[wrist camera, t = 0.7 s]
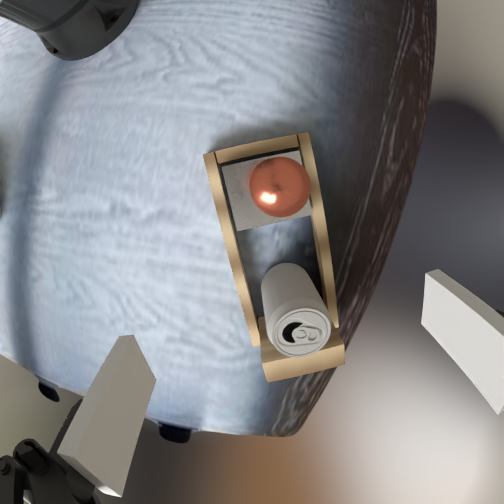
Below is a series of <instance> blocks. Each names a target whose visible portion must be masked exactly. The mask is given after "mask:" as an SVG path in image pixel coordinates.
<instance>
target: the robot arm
mask: <svg viewBox="0 0 504 504" xmlns="http://www.w3.org/2000/svg"><path fill="white" fill-rule="evenodd" d="M137 4H138V0H0V16H1V17H3V18H6V19H8V20H10V21H13V22H15V23H17V24H19V25H21V26H24V27H26V28H28V29H30V30H32V31H34V32H36V33H37V35H38V36H39V38H40V39H41V41H42V43H43V44H44V46H45V47H46V49H47V50H48V51H49V52H50V53H51V54H52V55H54V56H56V57H58V58H61V59H63V60H68V61H73V60H79V59H83V58H86V57H88V56H91V55H93V54H95V53H96V52H98V51H100V50H101V49H103V48H104V47H106V46H107V45H108V44H110V43H111V42H112V41H113V40H114V39H115V38H116V37H117V36H118V35H119V34H120V33H121V32H122V31H123V30H124V29H125V28H126V26H127V25H128V24H129V22H130V20H131V19H132V17H133V15H134V13H135V11H136V8H137ZM421 324H422V325H423V326H424V327H425V328H426V329H427V330H428V332H430V334H432V336H433V337H434V338H435V339H436V340H437V341H438V343H439V344H440V345H441V346H442V347H443V348H444V349H445V350H446V351H447V353H448V354H449V355H450V356H451V357H452V358H453V359H454V361H456V363H457V364H458V366H459V367H460V368H461V369H462V370H463V371H464V373H465V374H466V375H467V376H468V377H469V379H470V380H471V381H472V382H473V384H474V385H475V386H476V387H477V388H478V390H479V391H480V392H481V394H482V395H483V396H484V397H485V399H486V400H487V401H488V402H489V404H490V405H491V406H492V408H493V409H494V410H495V412H496V413H497V414H500V413H501V412H502V411H504V312H501V311H499V310H496V311H495V310H493V309H492V308H491V307H490V306H488V305H487V304H486V303H484V302H483V301H482V300H480V299H479V298H478V297H476V296H475V295H474V294H472V293H471V292H470V291H468V290H467V289H466V288H464V287H463V286H461V285H460V284H459V283H457V282H455V281H454V280H453V279H451V278H450V277H449V276H447V275H446V274H444V273H443V272H442V271H440V270H439V269H437V270H434V271H431V272H428V273H426V275H425V291H424V303H423V314H422V322H421ZM155 382H156V378H155V376H154V375H153V373H152V371H151V369H150V367H149V365H148V363H147V361H146V359H145V357H144V355H143V353H142V351H141V349H140V347H139V345H138V343H137V341H136V339H135V337H134V335H126V336H119V338H118V339H117V341H116V343H115V344H114V346H113V348H112V349H111V351H110V353H109V355H108V356H107V358H106V360H105V361H104V363H103V365H102V367H101V368H100V370H99V372H98V374H97V375H96V377H95V379H94V381H93V383H92V384H91V386H90V388H89V390H88V392H87V394H86V395H85V397H84V399H80V400H79V401H78V402H77V403H76V404H75V405H74V406H73V407H72V409H71V411H70V413H69V414H68V416H67V419H66V420H65V422H64V424H63V427H62V428H61V430H60V432H59V433H58V435H57V437H56V440H55V441H54V443H53V446H52V448H51V450H50V452H49V453H47V452H46V451H45V450H44V449H43V448H42V447H41V446H40V444H38V442H36V441H35V440H34V439H25V440H23V441H21V442H20V443H19V444H18V445H17V446H16V447H15V449H14V451H13V457H11V456H8V455H5V456H3V457H1V458H0V504H23V503H24V501H23V500H25V501H26V502H28V503H29V504H101V502H100V500H99V498H98V496H97V495H96V494H95V493H94V492H93V491H94V488H95V487H97V488H98V489H99V490H101V491H102V492H103V493H105V494H109V495H114V496H119V497H122V493H123V490H124V486H125V482H126V478H127V474H128V471H129V467H130V464H131V460H132V457H133V453H134V450H135V446H136V443H137V439H138V436H139V433H140V429H141V426H142V423H143V420H144V417H145V413H146V410H147V407H148V404H149V401H150V398H151V395H152V392H153V388H154V385H155Z"/></svg>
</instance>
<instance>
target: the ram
mask: <svg viewBox="0 0 504 504" xmlns="http://www.w3.org/2000/svg"><path fill="white" fill-rule="evenodd" d="M222 171H223V175H224V179H225V184H226V188H227V192H228V196H229V200H230V204H231V208H232V213H233V217H234V221H235V225H236V229H237V231H241V230H245V229H250V228H254V227H259V226H263V225H268V224H272V223H277V222H281V221H286V220H290V219H295V218H300V217H304V216H309V215H312V212H311V206H310V201H309V196H310V192H311V182H310V178H309V175H308V173H307V171H306V170H305V169H304V167H303V165H302V161H301V156H300V151H294V152H288V153H283V154H278V155H273V156H268V157H263V158H258V159H254V160H249V161H245V162H240V163H236V164H232V165H228V166H223V167H222Z"/></svg>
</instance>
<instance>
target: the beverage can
mask: <svg viewBox="0 0 504 504" xmlns="http://www.w3.org/2000/svg"><path fill="white" fill-rule="evenodd" d="M261 293H262V300H263V307H264V314H265V321H266V329H267V335H268V338H269V340H270V341H271V343H272V344H273V345H274V346H275V348H276V349H277V350H278V351H279V352H280V353H282V354H283V355H286V356H289V357H294V358H300V357H306V356H309V355H312V354H314V353H316V352H317V351H319V350H320V349H321V348H322V347H323V346H324V345H325V344H326V343H327V341H328V339H329V337H330V333H331V317H330V314H329V312H328V310H327V308H326V306H325V304H324V302H323V300H322V299H321V297H320V295H319V293H318V291H317V290H316V288H315V286H314V284H313V282H312V281H311V279H310V277H309V275H308V274H307V272H306V271H305V270H304V269H303V268H302V267H301V266H299V265H297V264H293V263H281V264H278V265H275V266H274V267H272V268H271V269H270V270H268V271H267V273H266V274H265V275H264V277H263V279H262V283H261Z"/></svg>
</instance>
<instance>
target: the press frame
mask: <svg viewBox="0 0 504 504" xmlns="http://www.w3.org/2000/svg"><path fill="white" fill-rule="evenodd" d="M295 147H297V151H300V156H301V161H302V165H303V167H304V169H305V170H306V171H307V173H308V175H309V178H310V182H311V192H310V196H309V201H310V206H311V212H312V215H310V217H311V222H312V228H313V234H314V240H315V246H316V252H317V259H318V265H319V272H320V279H321V286H322V294H323V301H324V304H325V306H326V308H327V310H328V312H329V314H330V317H331V333H330V337H329V339H328V341H327V343H326V344H325V345H324V346H323V347H322V348H321V349H320V350H319V351H317V352H316V353H314V354H312V355H309V356H306V357H300V358H294V357H289V356H286V355H283V354H282V353H280V352H279V351H278V350H277V349H276V348H275V346H274V345H273V344H272V343H271V341H270V340H269V338H268V335H267V329H266V321H265V316H261V317H258V321H257V317H256V313H255V310H254V306H253V302H252V298H251V294H250V290H249V286H248V282H247V278H246V274H245V270H244V266H243V262H242V258H241V254H240V250H239V246H238V242H237V238H236V234H235V230H234V226H233V222H232V218H231V214H230V210H229V206H228V202H227V197H226V193H225V189H224V185H223V181H222V177H221V173H220V168H219V164H220V163H224V162H229V161H233V160H237V159H241V158H246V157H250V156H255V155H260V154H264V153H269V152H274V151H279V150H285V149H290V148H295ZM215 152H216V153H215ZM215 152H210V153H206V154H203V157H204V162H205V166H206V170H207V174H208V178H209V182H210V186H211V190H212V194H213V198H214V202H215V206H216V210H217V214H218V218H219V222H220V226H221V230H222V234H223V238H224V242H225V245H226V249H227V253H228V257H229V261H230V264H231V268H232V272H233V276H234V279H235V283H236V287H237V290H238V294H239V298H240V301H241V305H242V309H243V312H244V316H245V319H246V323H247V327H248V330H249V334H250V337H251V341H252V344H253V347H255V346H261V358H262V365H263V369H264V372H265V376H266V379H267V382H272V381H277V380H282V379H287V378H291V377H296V376H300V375H305V374H309V373H313V372H317V371H321V370H325V369H329V368H332V367H336V366H340V365H343V364H345V354H344V343H343V341H342V339H341V337H340V335H339V333H338V332H337V330H336V328H337V327H339V325H338V313H337V303H336V294H335V285H334V276H333V268H332V261H331V253H330V246H329V239H328V233H327V226H326V220H325V214H324V208H323V202H322V197H321V191H320V186H319V180H318V175H317V170H316V165H315V160H314V156H313V151H312V146H311V142H310V137H309V133H308V132H306V133H300V134H297V135H296V134H294V135H288V136H283V137H277V138H272V139H267V140H262V141H257V142H252V143H248V144H243V145H239V146H235V147H230V148H226V149H222V150H218V151H215ZM218 163H219V164H218ZM258 323H259V325H258Z"/></svg>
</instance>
